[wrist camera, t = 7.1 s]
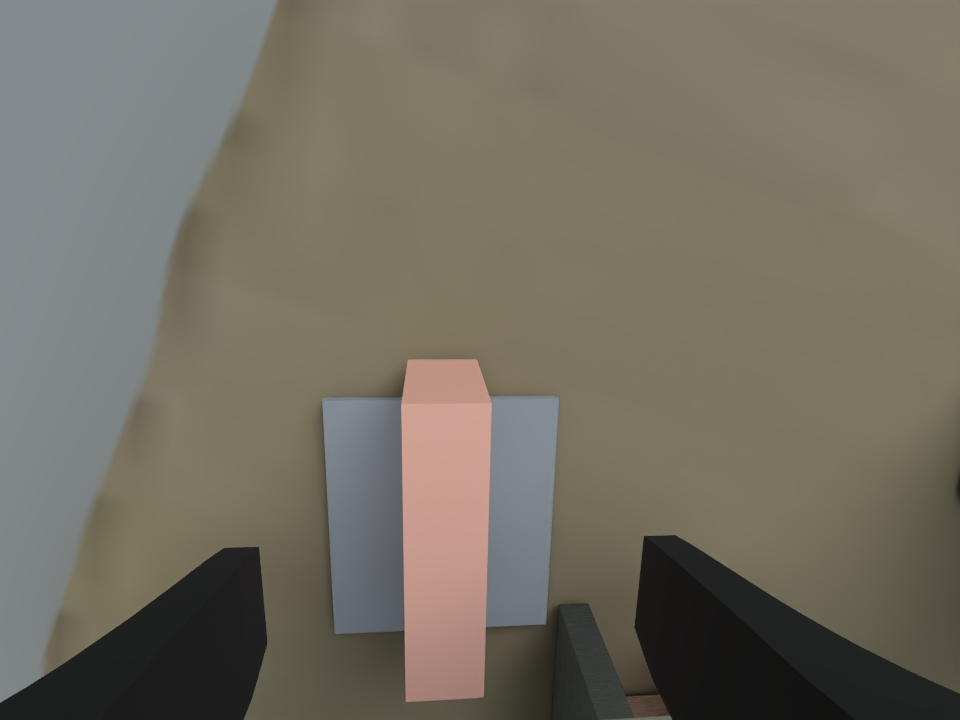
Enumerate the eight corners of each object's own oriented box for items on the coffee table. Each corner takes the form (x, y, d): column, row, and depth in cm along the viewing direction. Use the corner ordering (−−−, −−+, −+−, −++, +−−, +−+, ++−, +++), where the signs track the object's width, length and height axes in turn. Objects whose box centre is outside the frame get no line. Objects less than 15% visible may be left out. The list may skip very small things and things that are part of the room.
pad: (556, 395, 17) (559, 398, 17) (544, 618, 19) (545, 624, 19) (324, 397, 16) (322, 400, 16) (336, 627, 18) (334, 634, 18)
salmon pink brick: (476, 359, 16) (491, 403, 12) (472, 595, 18) (483, 697, 14) (408, 359, 16) (401, 404, 12) (410, 598, 18) (405, 702, 14)
